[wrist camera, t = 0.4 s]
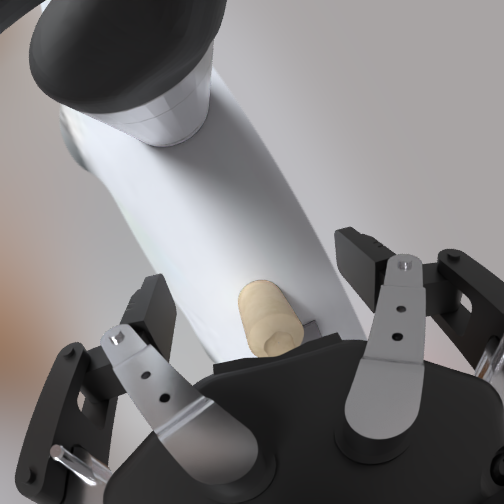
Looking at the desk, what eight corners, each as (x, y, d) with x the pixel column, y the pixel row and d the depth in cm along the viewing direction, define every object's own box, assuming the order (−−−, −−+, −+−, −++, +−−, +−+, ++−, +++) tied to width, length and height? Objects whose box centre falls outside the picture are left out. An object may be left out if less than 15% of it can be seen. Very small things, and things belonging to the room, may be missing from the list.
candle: (289, 289, 34) (319, 332, 24) (267, 325, 35) (289, 375, 25) (250, 272, 32) (269, 312, 23) (229, 310, 33) (239, 360, 24)
